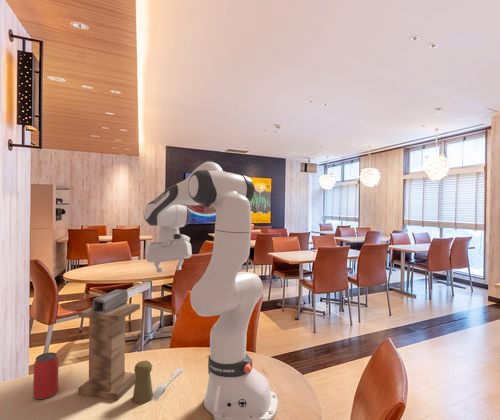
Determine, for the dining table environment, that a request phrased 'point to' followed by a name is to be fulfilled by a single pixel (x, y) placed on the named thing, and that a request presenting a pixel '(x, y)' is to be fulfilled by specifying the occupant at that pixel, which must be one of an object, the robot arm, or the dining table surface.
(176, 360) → the dining table surface
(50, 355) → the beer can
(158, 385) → the fork
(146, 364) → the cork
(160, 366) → the dining table surface
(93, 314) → the tube stand
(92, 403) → the dining table surface
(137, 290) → the grey bar
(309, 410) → the dining table surface
